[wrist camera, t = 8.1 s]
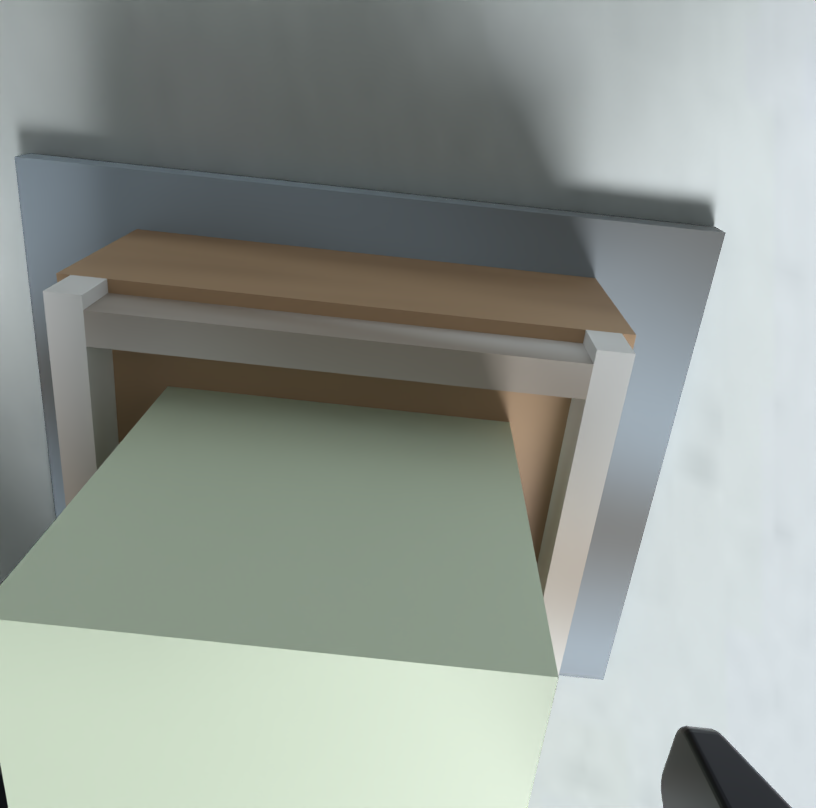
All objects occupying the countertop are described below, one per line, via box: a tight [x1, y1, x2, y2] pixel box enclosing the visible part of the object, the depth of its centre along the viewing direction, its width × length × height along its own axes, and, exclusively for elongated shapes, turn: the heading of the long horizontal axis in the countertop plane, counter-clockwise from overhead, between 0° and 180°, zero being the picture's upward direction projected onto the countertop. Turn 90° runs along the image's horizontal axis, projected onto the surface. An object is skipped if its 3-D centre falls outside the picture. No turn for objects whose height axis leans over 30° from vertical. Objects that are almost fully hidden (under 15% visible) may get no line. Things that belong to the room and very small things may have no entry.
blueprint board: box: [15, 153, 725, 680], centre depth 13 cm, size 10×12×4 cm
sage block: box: [0, 386, 559, 808], centre depth 10 cm, size 5×5×5 cm
